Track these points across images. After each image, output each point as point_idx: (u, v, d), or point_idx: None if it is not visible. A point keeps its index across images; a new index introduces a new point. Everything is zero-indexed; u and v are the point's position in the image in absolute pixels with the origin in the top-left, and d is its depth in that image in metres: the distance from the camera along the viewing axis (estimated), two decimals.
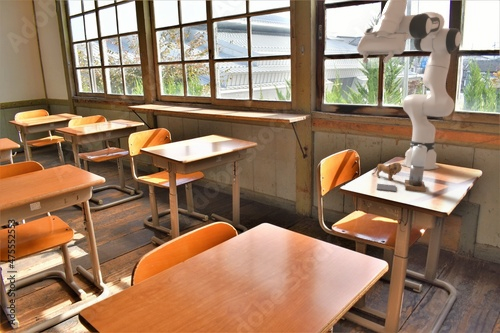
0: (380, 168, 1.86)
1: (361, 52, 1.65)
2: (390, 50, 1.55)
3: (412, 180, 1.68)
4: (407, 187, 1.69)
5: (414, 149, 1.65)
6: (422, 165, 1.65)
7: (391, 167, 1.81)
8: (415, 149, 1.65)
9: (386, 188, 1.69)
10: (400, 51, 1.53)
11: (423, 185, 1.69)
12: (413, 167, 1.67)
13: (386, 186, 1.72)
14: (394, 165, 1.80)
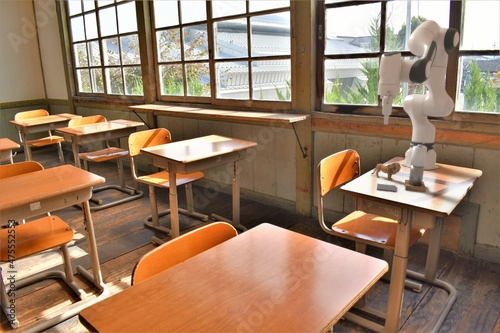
0: (379, 168, 1.87)
1: None
2: None
3: (412, 180, 1.68)
4: (407, 187, 1.69)
5: (414, 149, 1.65)
6: (422, 165, 1.65)
7: (390, 167, 1.81)
8: (415, 149, 1.65)
9: (386, 188, 1.69)
10: (386, 114, 1.58)
11: (423, 185, 1.69)
12: (413, 167, 1.67)
13: (386, 186, 1.72)
14: (393, 165, 1.81)
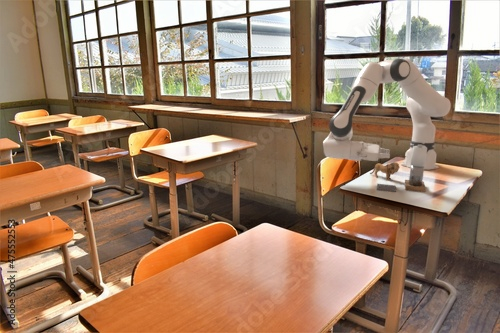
0: (378, 168, 1.87)
1: None
2: None
3: (412, 180, 1.68)
4: (407, 187, 1.69)
5: (414, 149, 1.65)
6: (422, 165, 1.65)
7: (389, 167, 1.82)
8: (415, 149, 1.65)
9: (386, 188, 1.69)
10: (377, 157, 1.64)
11: (423, 185, 1.69)
12: (413, 167, 1.67)
13: (386, 186, 1.72)
14: (392, 165, 1.81)
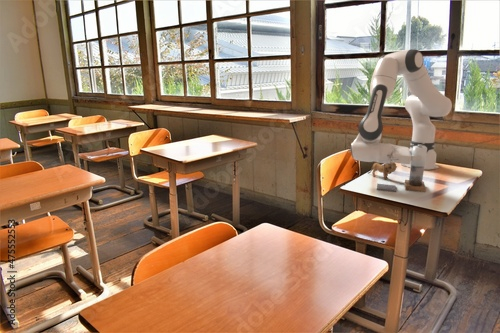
0: (375, 167, 1.88)
1: None
2: None
3: (412, 180, 1.68)
4: (407, 187, 1.69)
5: (414, 149, 1.65)
6: (422, 165, 1.65)
7: (386, 166, 1.83)
8: (415, 149, 1.65)
9: (386, 188, 1.69)
10: (410, 160, 1.60)
11: (423, 185, 1.69)
12: (413, 167, 1.67)
13: (386, 186, 1.72)
14: (389, 164, 1.82)
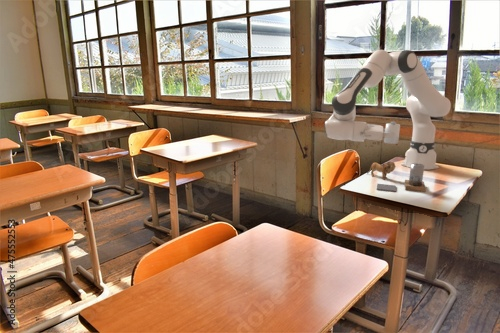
0: (374, 167, 1.89)
1: None
2: None
3: (412, 180, 1.68)
4: (407, 187, 1.69)
5: (387, 126, 1.63)
6: (395, 142, 1.63)
7: (385, 166, 1.83)
8: (388, 126, 1.63)
9: (386, 188, 1.69)
10: (381, 136, 1.57)
11: (423, 185, 1.69)
12: (413, 167, 1.67)
13: (386, 186, 1.72)
14: (388, 164, 1.82)
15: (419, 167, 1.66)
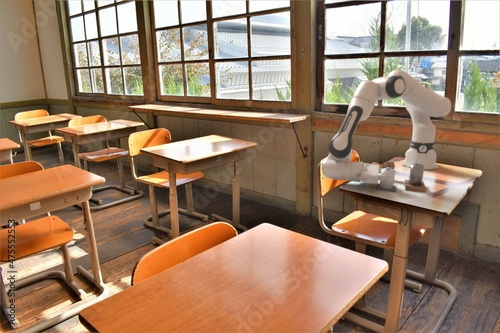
0: None
1: None
2: None
3: (412, 180, 1.68)
4: (407, 187, 1.69)
5: (382, 172, 1.68)
6: (390, 187, 1.68)
7: (385, 165, 1.84)
8: (383, 172, 1.68)
9: None
10: (377, 179, 1.62)
11: (423, 185, 1.69)
12: (413, 167, 1.67)
13: None
14: (388, 163, 1.83)
15: (419, 167, 1.66)
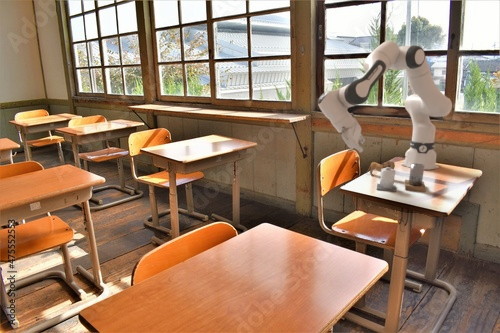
0: (374, 166, 1.89)
1: None
2: None
3: (412, 180, 1.68)
4: (407, 187, 1.69)
5: (382, 172, 1.68)
6: (390, 187, 1.68)
7: (385, 165, 1.84)
8: (383, 172, 1.68)
9: None
10: (353, 147, 1.64)
11: (423, 185, 1.69)
12: (413, 167, 1.67)
13: None
14: (388, 163, 1.84)
15: (419, 167, 1.66)
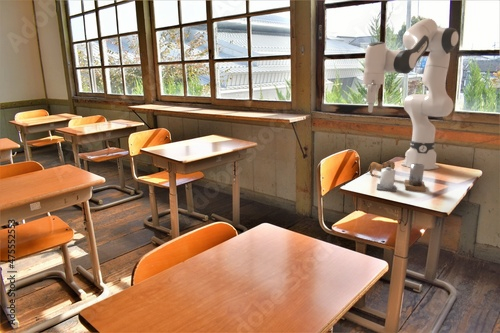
0: (374, 166, 1.90)
1: None
2: None
3: (412, 180, 1.68)
4: (407, 187, 1.69)
5: (382, 172, 1.68)
6: (390, 187, 1.68)
7: (385, 165, 1.84)
8: (383, 172, 1.68)
9: None
10: (370, 102, 1.63)
11: (423, 185, 1.69)
12: (413, 167, 1.67)
13: None
14: (388, 163, 1.84)
15: (419, 167, 1.66)
